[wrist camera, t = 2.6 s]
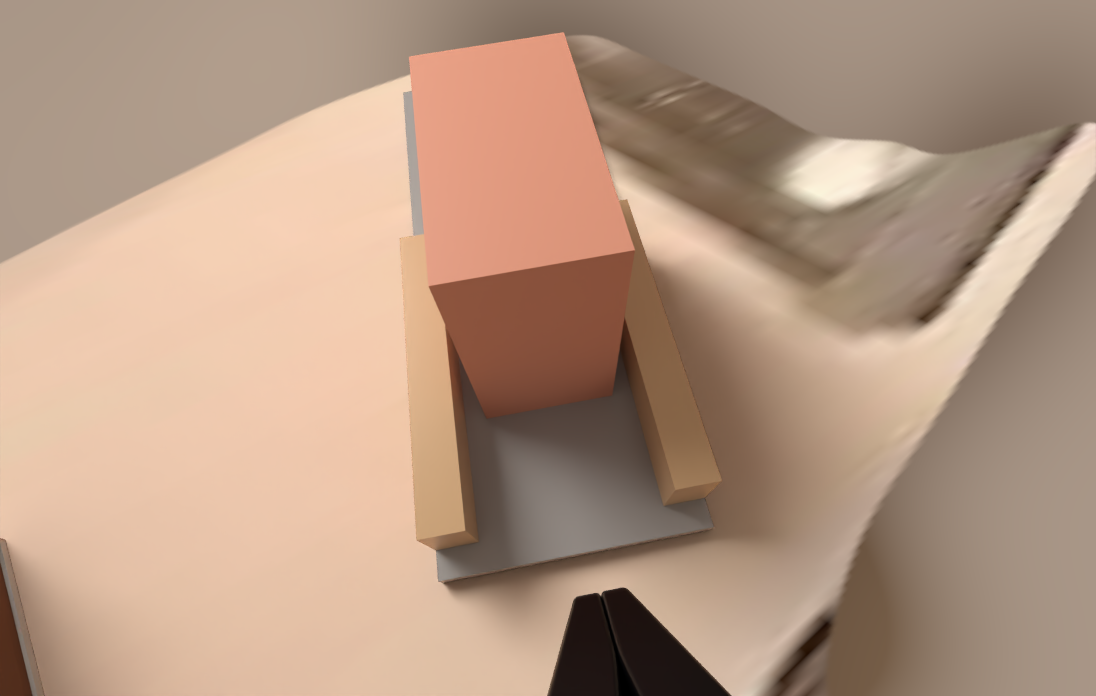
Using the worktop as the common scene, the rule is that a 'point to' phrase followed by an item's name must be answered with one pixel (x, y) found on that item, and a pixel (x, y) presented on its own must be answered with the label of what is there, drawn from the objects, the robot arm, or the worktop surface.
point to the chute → (549, 439)
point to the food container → (15, 638)
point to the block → (520, 223)
